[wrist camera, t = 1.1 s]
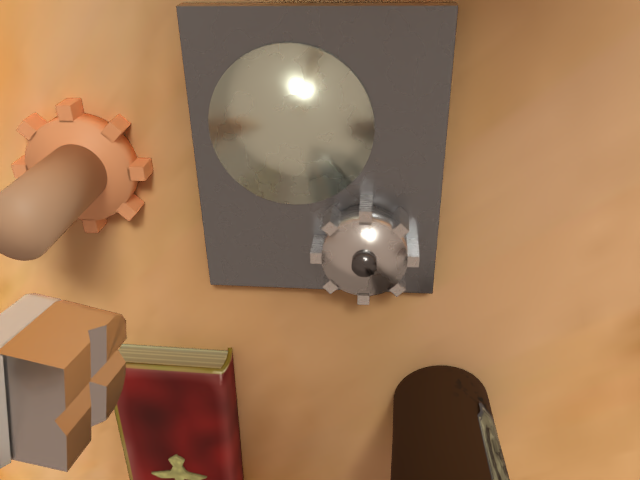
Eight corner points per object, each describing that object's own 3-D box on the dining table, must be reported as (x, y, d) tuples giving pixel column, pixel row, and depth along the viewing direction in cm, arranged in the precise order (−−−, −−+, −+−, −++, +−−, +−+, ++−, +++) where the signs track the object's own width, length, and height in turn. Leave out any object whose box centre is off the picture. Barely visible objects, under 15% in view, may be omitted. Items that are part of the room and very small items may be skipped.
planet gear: (7, 97, 50) (-92, 150, 40) (141, 99, 49) (76, 153, 39) (40, 220, 56) (-39, 294, 46) (161, 224, 55) (109, 300, 45)
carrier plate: (182, 2, 45) (158, 15, 41) (456, 2, 44) (464, 15, 39) (214, 275, 57) (198, 310, 52) (431, 284, 55) (435, 320, 51)
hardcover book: (234, 345, 62) (225, 373, 58) (246, 485, 72) (239, 517, 68) (119, 337, 63) (103, 365, 59) (147, 477, 73) (134, 508, 69)
